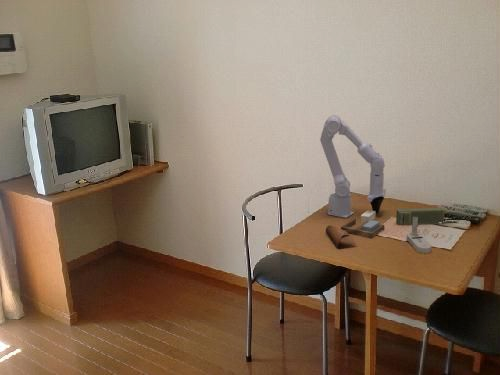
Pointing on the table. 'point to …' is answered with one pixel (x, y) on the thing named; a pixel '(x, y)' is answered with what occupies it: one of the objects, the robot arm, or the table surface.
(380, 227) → the rack
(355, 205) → the table surface
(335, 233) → the sunglasses case
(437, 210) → the handheld radio
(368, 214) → the cream rectangular block
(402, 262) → the table surface
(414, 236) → the electronic device
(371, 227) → the light blue block
